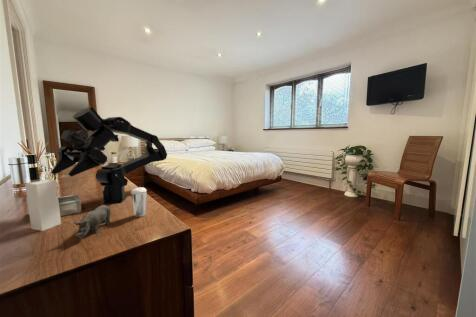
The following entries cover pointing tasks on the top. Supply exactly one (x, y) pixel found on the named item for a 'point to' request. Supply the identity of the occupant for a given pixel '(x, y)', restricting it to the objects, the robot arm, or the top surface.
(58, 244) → the top surface
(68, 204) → the coin box
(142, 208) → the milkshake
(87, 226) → the rhino figurine
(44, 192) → the peg
